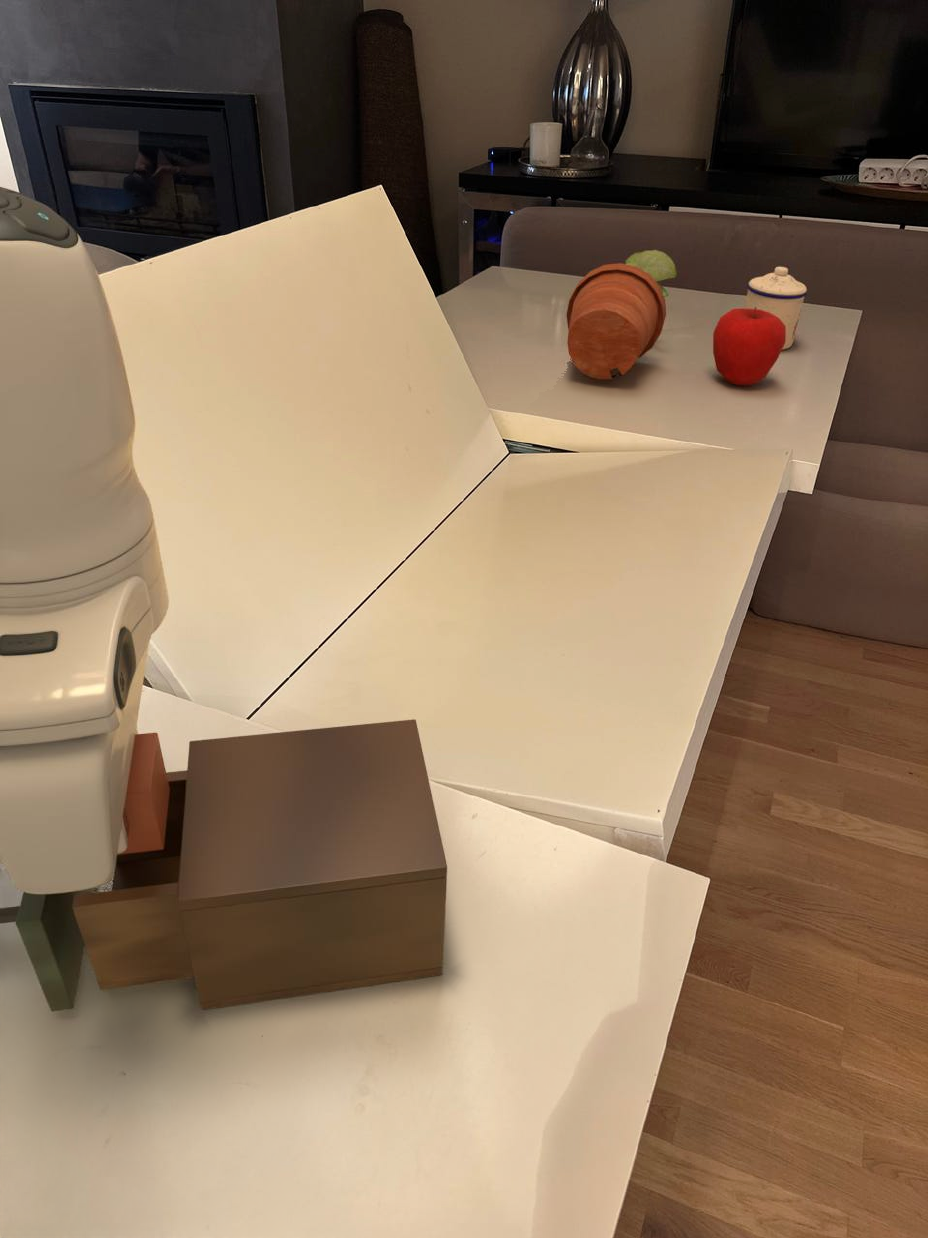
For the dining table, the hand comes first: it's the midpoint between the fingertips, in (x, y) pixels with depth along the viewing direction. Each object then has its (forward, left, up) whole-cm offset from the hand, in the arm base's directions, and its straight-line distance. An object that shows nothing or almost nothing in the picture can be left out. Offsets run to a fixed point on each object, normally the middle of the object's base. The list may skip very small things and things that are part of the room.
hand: (118, 802), depth 48 cm
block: (0, 0, -2) cm, 2 cm away
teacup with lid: (+87, +100, -11) cm, 133 cm away
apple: (+75, +82, -11) cm, 112 cm away
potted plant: (+61, +97, -11) cm, 115 cm away
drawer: (-1, 0, -10) cm, 10 cm away
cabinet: (+10, 0, -11) cm, 15 cm away
